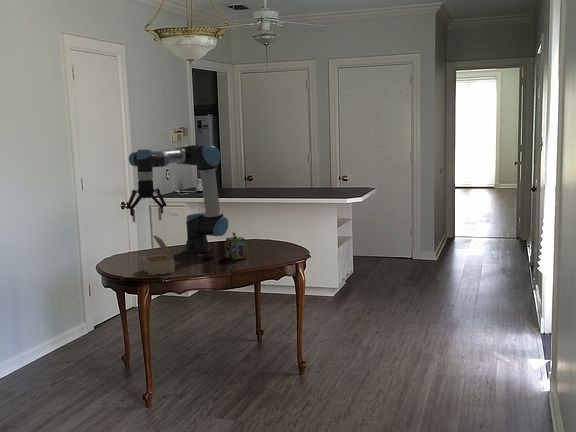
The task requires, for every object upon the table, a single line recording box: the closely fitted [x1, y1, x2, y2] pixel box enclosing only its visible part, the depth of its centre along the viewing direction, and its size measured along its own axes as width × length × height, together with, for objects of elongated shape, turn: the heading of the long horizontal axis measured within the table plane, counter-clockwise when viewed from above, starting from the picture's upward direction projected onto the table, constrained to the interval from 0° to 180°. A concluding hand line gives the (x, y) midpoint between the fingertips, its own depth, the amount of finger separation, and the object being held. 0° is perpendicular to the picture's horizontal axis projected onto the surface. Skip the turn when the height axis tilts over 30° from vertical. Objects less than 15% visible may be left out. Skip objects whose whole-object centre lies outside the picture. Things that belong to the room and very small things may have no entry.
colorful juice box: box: [225, 231, 247, 261], centre depth 358 cm, size 9×9×15 cm
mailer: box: [141, 254, 176, 276], centre depth 329 cm, size 15×13×7 cm
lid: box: [153, 234, 174, 259], centre depth 329 cm, size 15×11×1 cm
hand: (147, 221), depth 322 cm, fingers open, 13 cm apart
